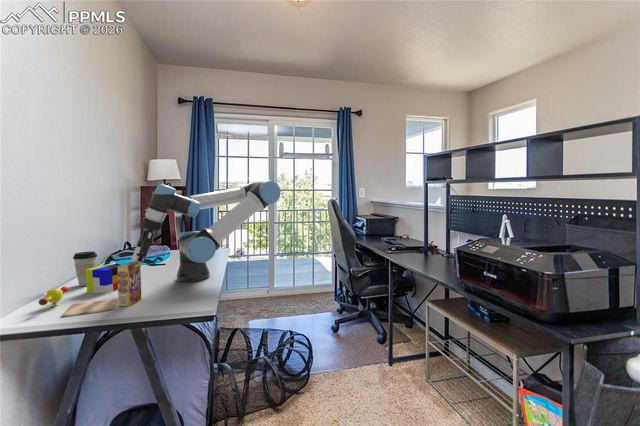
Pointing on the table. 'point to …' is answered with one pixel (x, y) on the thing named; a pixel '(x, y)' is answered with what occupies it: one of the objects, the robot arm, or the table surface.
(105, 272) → the puzzle toy
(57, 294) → the toy figure
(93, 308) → the cork mat
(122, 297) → the candy box
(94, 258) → the coffee cup
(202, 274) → the robot arm
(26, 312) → the table surface
